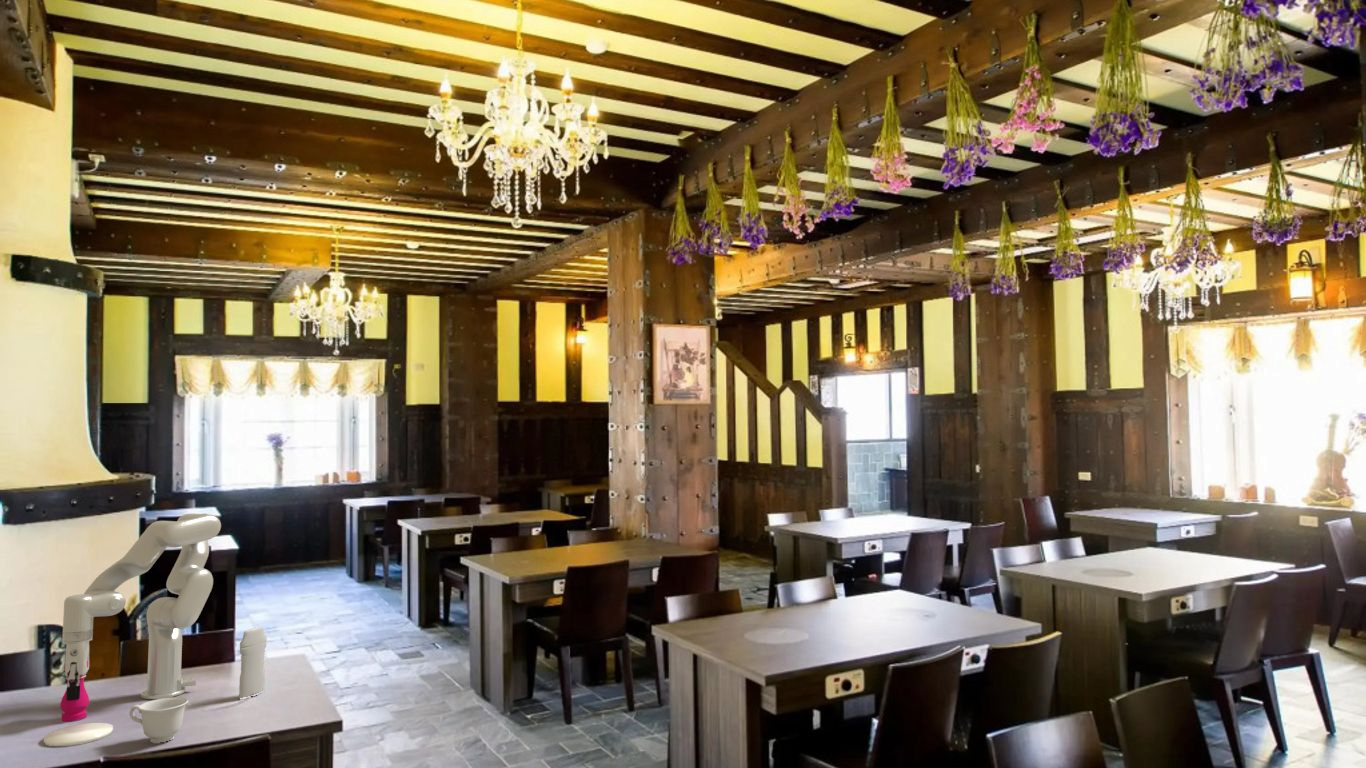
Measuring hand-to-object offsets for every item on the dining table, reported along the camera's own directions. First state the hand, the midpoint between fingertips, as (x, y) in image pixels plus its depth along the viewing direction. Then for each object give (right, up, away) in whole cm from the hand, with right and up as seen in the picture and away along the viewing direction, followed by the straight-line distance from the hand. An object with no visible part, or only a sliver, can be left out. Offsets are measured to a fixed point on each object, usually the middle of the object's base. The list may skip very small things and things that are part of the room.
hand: (74, 696), depth 256 cm
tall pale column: (+43, -8, +22) cm, 49 cm away
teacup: (+37, -5, -19) cm, 42 cm away
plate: (+13, -5, -16) cm, 21 cm away
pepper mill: (0, -7, 0) cm, 7 cm away
